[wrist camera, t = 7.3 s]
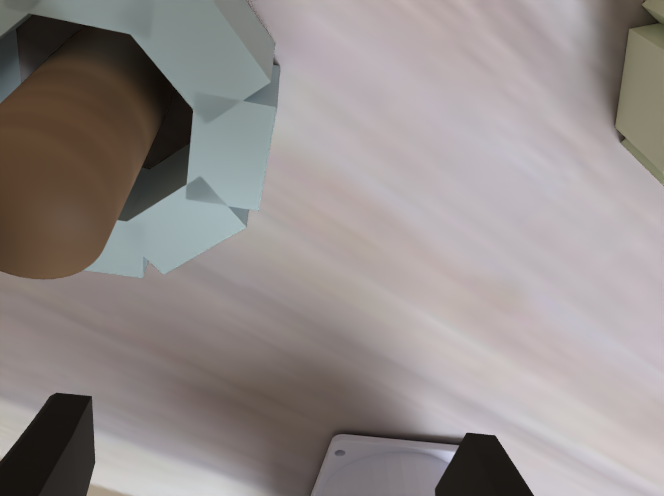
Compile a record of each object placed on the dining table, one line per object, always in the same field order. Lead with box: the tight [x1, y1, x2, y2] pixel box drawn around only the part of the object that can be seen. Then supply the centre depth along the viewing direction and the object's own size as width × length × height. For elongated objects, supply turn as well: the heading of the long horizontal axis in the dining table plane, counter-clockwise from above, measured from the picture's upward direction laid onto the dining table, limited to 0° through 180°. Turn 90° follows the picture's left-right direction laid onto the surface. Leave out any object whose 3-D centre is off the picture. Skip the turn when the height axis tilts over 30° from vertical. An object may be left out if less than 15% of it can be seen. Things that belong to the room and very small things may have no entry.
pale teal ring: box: [0, 0, 280, 278], centre depth 15 cm, size 9×9×3 cm
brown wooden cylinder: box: [0, 26, 172, 279], centre depth 14 cm, size 3×3×7 cm
